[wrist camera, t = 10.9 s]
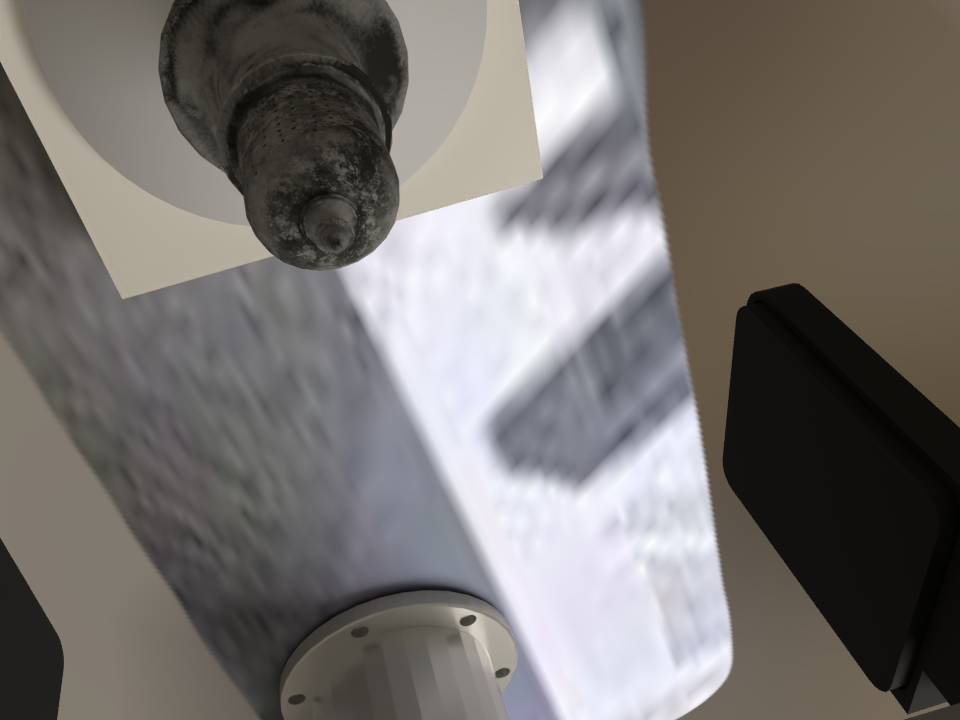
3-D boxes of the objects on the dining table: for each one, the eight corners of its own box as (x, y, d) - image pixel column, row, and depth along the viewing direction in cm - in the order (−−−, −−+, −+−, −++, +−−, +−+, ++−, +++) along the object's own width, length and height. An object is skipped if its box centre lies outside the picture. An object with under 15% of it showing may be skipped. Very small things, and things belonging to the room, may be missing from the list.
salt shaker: (109, 20, 23) (65, 248, 14) (277, -143, 22) (353, -14, 13) (273, 175, 27) (326, 438, 17) (425, 42, 25) (569, 247, 16)
